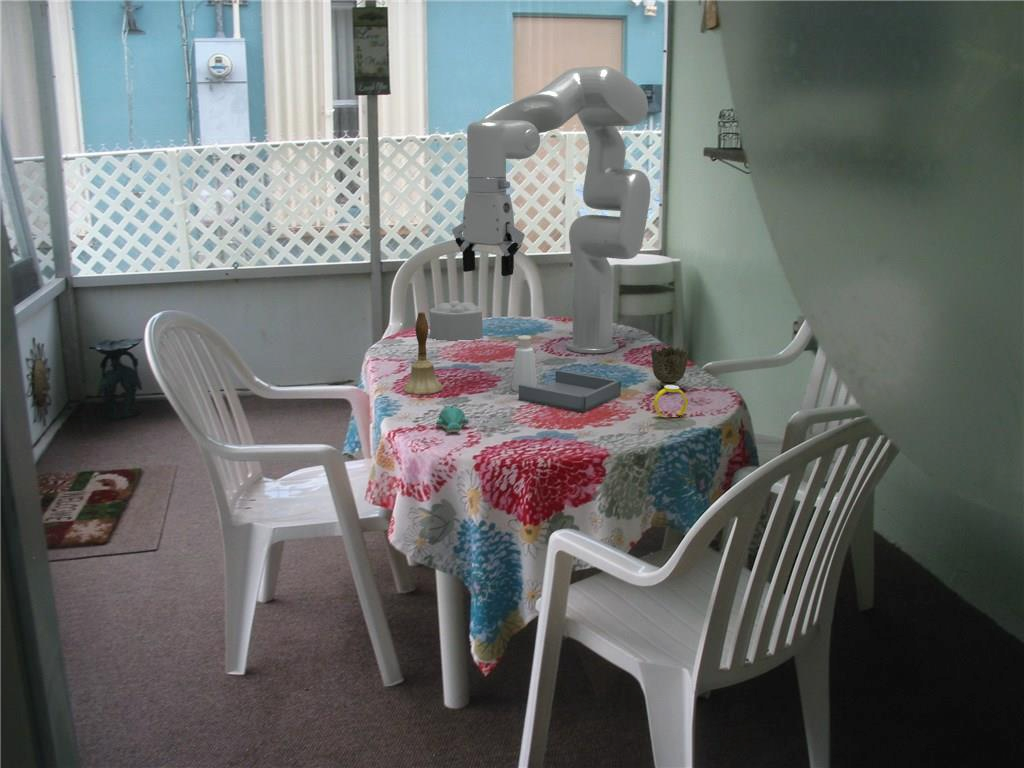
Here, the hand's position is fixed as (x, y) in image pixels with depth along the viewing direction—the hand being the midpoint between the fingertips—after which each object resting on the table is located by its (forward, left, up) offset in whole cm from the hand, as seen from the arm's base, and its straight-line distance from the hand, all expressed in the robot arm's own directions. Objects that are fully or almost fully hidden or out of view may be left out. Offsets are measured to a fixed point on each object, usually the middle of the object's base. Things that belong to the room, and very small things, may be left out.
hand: (488, 273), depth 189 cm
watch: (-2, +41, -24) cm, 47 cm away
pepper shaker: (-2, +8, -24) cm, 25 cm away
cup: (-19, +32, -24) cm, 44 cm away
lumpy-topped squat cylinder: (-31, -34, -24) cm, 52 cm away
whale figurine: (+27, +12, -24) cm, 38 cm away
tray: (-2, +19, -23) cm, 30 cm away
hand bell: (+10, -9, -24) cm, 27 cm away
